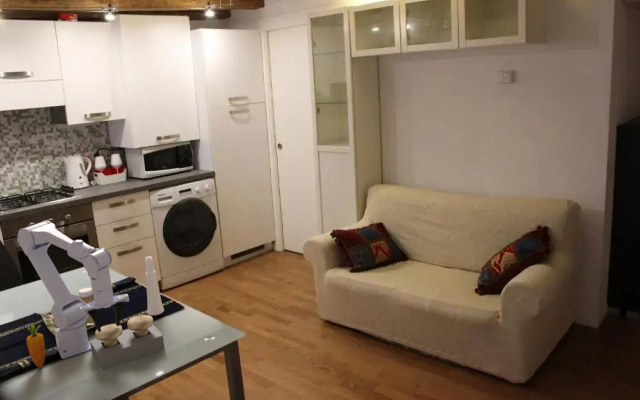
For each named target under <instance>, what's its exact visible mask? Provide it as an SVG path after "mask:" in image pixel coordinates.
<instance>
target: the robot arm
mask: <svg viewBox="0 0 640 400" xmlns="http://www.w3.org/2000/svg"><path fill="white" fill-rule="evenodd" d="M16 240H17V243H18V245H19V246H20V247H21V249H22V251H23V253H24V254H25V256H27V257H28V259H29V261H30V262H31V264H32V266H33V268H34V269H35V271H36V273H37V274H38V276H39V278H40V279H41V281H42V283H43V285H44V287H45V289H46V291H47V292H48V294H49V295H50V297H51V299H52V300H53V302H54V303H53V305H52V306H51V309H50V313H51V315H52V320H53V322H54V324H55V326H56V329H54V335H55V336H54V337H55V341H56V350H57V351H58V353H59V356H60V357H61V359H63V360H64V359H66V358H69V357H72V356H77V355H79V354H82V353H85V352H89V351H91V345H90V340H89V338H88V332H87V331H88V330H87V326H86V325H85V321H87V319H86V317H87V316H88V315H90V316H91V318H92V319H93V321H94V323H95V325H94V326H96V330H98V332H101V327H102V326H101V324H100V314H99V313H98V310H100V309H107V308H110V307H111V306H112V309H113V310H112V311H113V313H114V322H115V323H114V324H116V325H117V326H121V324H120V322H121V317H122V313H123V310H124V308H125V305H124V302H126V303H128V302H130V297H129V295H128V293H125V294H119V295H114V292H113V286H112V280H111V273H110V268H109V266H110V265H111V264H112V261H113V257H112V255H111V253H110V251H108V250H107V249H106V248H105V247H102V248H101V247H100V248H95V247H94V246H91V245H89V244H88V243H86V242H84V240H82V239H75V240H73V239H71V238H70V237H68V236H67V235H65V234H64V233H62V232H61V231H59V230H58V229H57V226H56V225H55V223H52V222H51V221H49V220H42V221H41V222H38V223H35V224H33V225H30V226H26V227H22V228H20V229H19V230H18V233H17V239H16ZM51 245H54V246H56V247H58V248H60V249H63V250H64V251H67V255H68V257H70V258H72V259H74V260H76V261H78V262H79V263H80V264H82V265H83V268H84V269H85V271H86V272H87V275H88V277H89V278H90V283H91V284H90V285H91V288H92V291H93V302H91V303H88V304H86V303H84V302H83V301H82V300H81V298H80V296H79V294H78V295H77V294H74V293H73V294H72V293H71V292H70V291H69V289H68V287H67V285H66V283H65V282H64V280H63V277H61V274H60V273H59V272H58V269H57V268H56V266H55V264H54V263H53V261H52V259H51V258H50V256H49V255H48V248H49V247H50V246H51Z"/></svg>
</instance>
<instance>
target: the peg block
mask: <svg viewBox="0 0 640 400" xmlns="http://www.w3.org/2000/svg"><path fill="white" fill-rule="evenodd" d="M122 331H123V332H122V334H121V335H120V336H119V337H117V343H118V345H115V346H112V347H109V348H106V349H105V347H104V341H100V340H97V339H96V338H94V339H92V340H89V343H90V345H91V350H90V351H91V355H92V357H93V358H94V360H95V362H96V364H97V365H98V367H99V368H100V371H104V370H108V369H111V368H113V367H116V366H119V365H122V364H125V363H128V362H130V361H134V360H137V359H139V358H140V359H141V358H143V357H146V356H149V355H151V354H154V353H157V352H160V351H164V350H165V349H166V348H165V342H164V341H165V340H164V335H163V334H162V333H161V332H160V331H159V329H158V328H157V327H156V326H155V325H154V324H153V325H152V326H151V327H149V328H148V335H146V336H143V337H140V338H136V335H135V331H132V330H129V329H128V328H126V329H122Z"/></svg>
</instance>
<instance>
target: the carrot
mask: <svg viewBox="0 0 640 400" xmlns="http://www.w3.org/2000/svg"><path fill="white" fill-rule="evenodd" d="M35 327H36V326H35V324H34V323H31V324H30V327H28V328H27V330H28V332H29V333H30V335H28V336H27V337H26V345H27V349H28V353H29V356H30V357H31V360H32V363H34V365H35V366H36V367H38V369H42V367H43V366H44V364H45V359H46V346H45V339H44V334H43V333H39V332H38V330H39V328H41V327H42V325H41V324H39V325H38V326H37V327H36V328H35Z"/></svg>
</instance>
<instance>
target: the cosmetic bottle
mask: <svg viewBox="0 0 640 400" xmlns="http://www.w3.org/2000/svg"><path fill="white" fill-rule="evenodd" d="M144 259H145V260H144V264H145V283H146V286H145V287H146V297H147V311H146V312H147V313H146V314H147V315H149V316H157V315H161V314H163V312H164V311H165V308H164V306H163V302H162V298H161V293H160V288H159V283H158V277H157V272H156V270H155V267H154V259H153V257H152V256H151V255H148V256H145V258H144Z"/></svg>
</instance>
